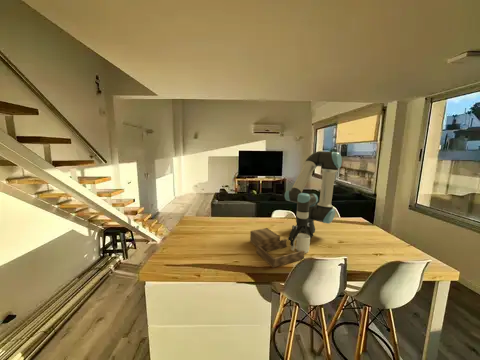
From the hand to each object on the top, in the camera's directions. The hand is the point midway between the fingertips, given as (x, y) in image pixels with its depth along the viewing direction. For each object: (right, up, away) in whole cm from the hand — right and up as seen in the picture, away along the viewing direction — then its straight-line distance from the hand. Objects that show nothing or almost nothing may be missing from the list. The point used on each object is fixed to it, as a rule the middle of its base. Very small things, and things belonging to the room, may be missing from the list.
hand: (300, 248), depth 144 cm
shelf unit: (-18, -1, 0) cm, 18 cm away
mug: (0, -2, 0) cm, 2 cm away
